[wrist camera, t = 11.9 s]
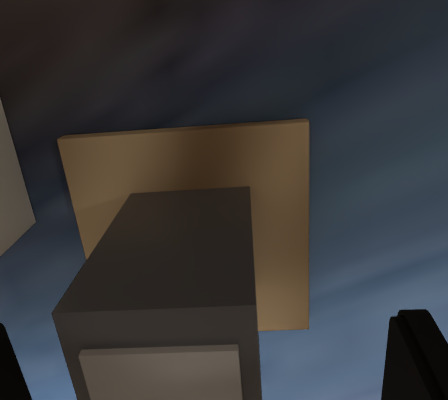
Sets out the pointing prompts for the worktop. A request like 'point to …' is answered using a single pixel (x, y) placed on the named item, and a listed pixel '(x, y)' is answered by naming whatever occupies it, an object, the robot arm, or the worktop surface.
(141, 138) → the coaster
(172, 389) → the block
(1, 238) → the power strip
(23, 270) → the worktop surface
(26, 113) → the worktop surface
